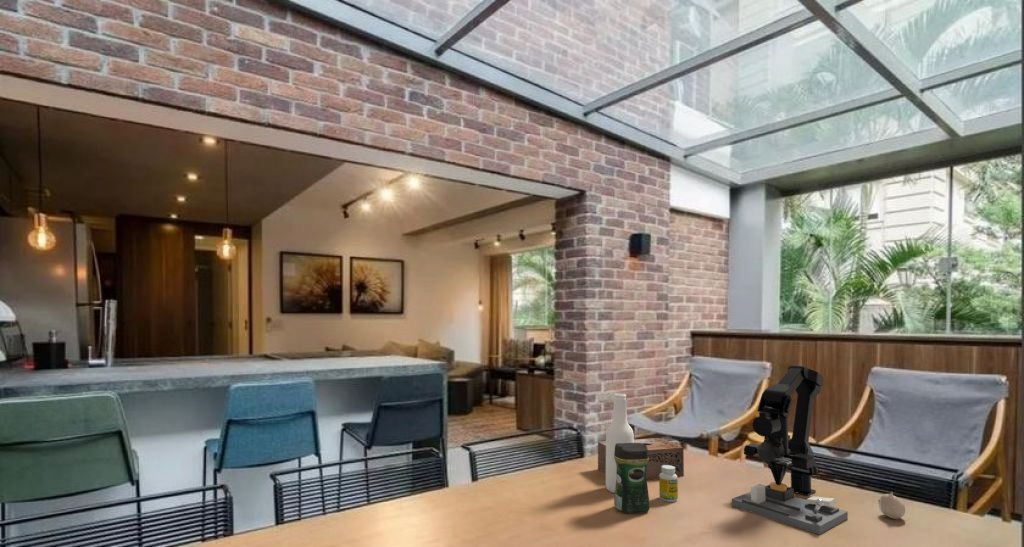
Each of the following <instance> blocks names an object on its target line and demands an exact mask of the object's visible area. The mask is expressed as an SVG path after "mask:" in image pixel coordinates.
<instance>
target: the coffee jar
mask: <svg viewBox="0 0 1024 547" xmlns="http://www.w3.org/2000/svg"><path fill="white" fill-rule="evenodd" d="M614 459H615V461H616V466H617V475H616V487H615V493H614V499H613V501H614V503H613V506H614V507H615V509H616V510H617V511H618V512H620V513H623V514H641V513H644V514H645V513H648V512H649V510H650V506H651V505H650V497H649V496H650V494H649V487H648V480H647V464H648V461H649V456H648V449H647V446H646V445H644V444H642V443H617V444H616V445H615V452H614Z"/></svg>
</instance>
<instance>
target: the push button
mask: <svg viewBox="0 0 1024 547" xmlns="http://www.w3.org/2000/svg"><path fill="white" fill-rule="evenodd" d="M769 485H770V488H771V489H774V490H778V491H781V492H784V491H787V487H788V485H787V484H786V483H783V482H781V484H780V485H777V484H776V482H775V481H772V482H770V484H769Z"/></svg>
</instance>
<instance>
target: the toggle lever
mask: <svg viewBox="0 0 1024 547" xmlns="http://www.w3.org/2000/svg"><path fill="white" fill-rule="evenodd" d="M816 503H817V504H816V506H815V508H814V510H813V513H814V514H817V512H818V511H819V509H820V507H821V506H823V505H824V501H823V500H822V499H817V500H816Z"/></svg>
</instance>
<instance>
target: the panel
mask: <svg viewBox="0 0 1024 547" xmlns="http://www.w3.org/2000/svg"><path fill="white" fill-rule="evenodd" d="M789 487H790V486H787V491H784V492H781V491H778V490H774V489H771V488H770V484H767V485H765V501H764V502H762V503H759V504H757V503H754V502H751V491H749V492H746V493H744V494H741V495H738V496H735V497H733V498H731V506H732V507H734V508H737V509H740V510H743V511H746V512H749V513H752V514H755V515H759V516H762V517H764V518H766V519H767V518H768V519H771V520H774V521H777V522H780V523H784V524H787V525H789V526H792V527H795V528H798V529H801V530H804V531H808V532H811V533H812V534H813V533H814V534H816V535H821V534H823V533H825V532H827V531H828V530H831V529H832V528H834V527H836V526H838V525H839V524H842V523H843V522H845V521H846V520H848V518H849V517H848V511H847V510H844V509H840V507H839V508H838V507H836V506H833V505H832V506H821V507H820V509H819V511H818V512H817V514H814V513H813V510H814V508H815V506H816V505H815V504H807V499H804V498H801V497H797V496H795V492H794V489H793V488H789Z"/></svg>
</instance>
